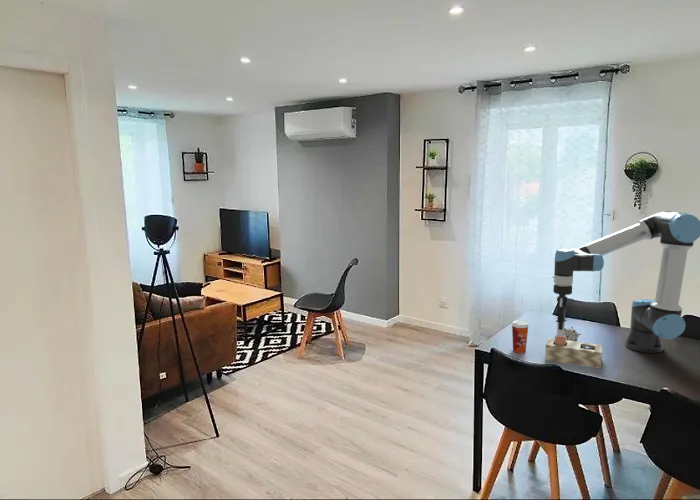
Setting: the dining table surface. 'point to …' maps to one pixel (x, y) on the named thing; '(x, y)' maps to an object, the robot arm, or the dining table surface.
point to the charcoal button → (587, 347)
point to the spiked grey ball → (571, 334)
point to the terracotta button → (560, 340)
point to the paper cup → (519, 336)
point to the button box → (574, 353)
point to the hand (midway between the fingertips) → (560, 335)
